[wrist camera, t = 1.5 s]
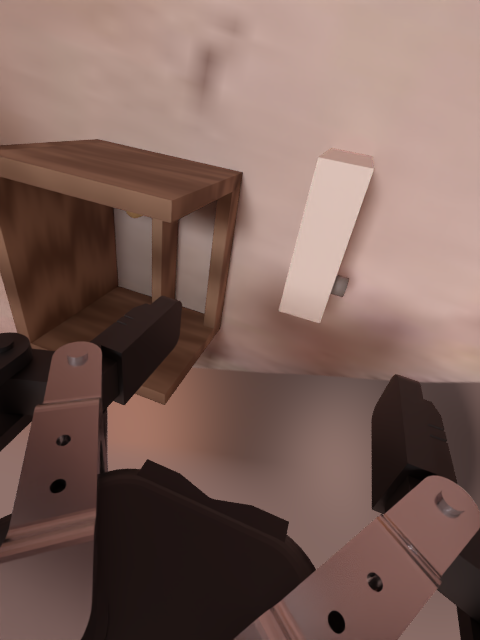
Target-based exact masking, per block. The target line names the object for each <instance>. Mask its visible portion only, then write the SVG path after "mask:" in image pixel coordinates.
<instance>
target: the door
mask: <svg viewBox="0 0 480 640" xmlns="http://www.w3.org/2000/svg"><path fill="white" fill-rule="evenodd" d="M373 171H374V164H373V157H372V156H369V155H364V154H359V153H354V152H349V151H344V150H339V149H334V148H331V149H329V150H328V151H326V152H325V153H323V154H322V155H321V156H319V157H318V160H317V163H316V167H315V171H314V175H313V179H312V183H311V187H310V191H309V194H308V198H307V202H306V206H305V210H304V214H303V218H302V221H301V225H300V229H299V233H298V237H297V241H296V245H295V249H294V252H293V256H292V260H291V264H290V268H289V272H288V276H287V279H286V283H285V287H284V291H283V295H282V299H281V303H280V307H279V310H278V311H280V312H283V313H287V314H290V315H293V316H296V317H300V318H303V319H306V320H310V321H313V322H316V323H319V324H320V321H321V319H322V316H323V313H324V310H325V307H326V304H327V302H328V299H329V296H330V294H333V295H337V296H340V297H343V295H344V293H345V291H346V288H347V284H348V281H349V278H346V277H342V276H339V275H337V273H338V270H339V267H340V265H341V262H342V259H343V256H344V253H345V250H346V247H347V245H348V242H349V239H350V236H351V233H352V230H353V228H354V225H355V222H356V219H357V216H358V213H359V210H360V208H361V205H362V202H363V199H364V196H365V193H366V191H367V188H368V185H369V182H370V179H371V176H372V173H373Z"/></svg>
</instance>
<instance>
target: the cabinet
mask: <svg viewBox="0 0 480 640" xmlns="http://www.w3.org/2000/svg"><path fill="white" fill-rule="evenodd" d="M242 173H243V172H238V171H234V170H230V169H225V168H221V167H216V166H212V165H208V164H203V163H199V162H195V161H190V160H186V159H181V158H177V157H173V156H168V155H164V154H160V153H155V152H151V151H146V150H142V149H138V148H133V147H129V146H125V145H120V144H116V143H111V142H107V141H103V140H98V139H95V140H79V141H63V142H47V143H31V144H15V145H0V272H1V276H2V280H3V283H4V287H5V290H6V294H7V297H8V301H9V304H10V308H11V311H12V315H13V319H14V322H15V326H16V329H17V333H19V334H22V335H25V336H26V337H27V338H28V339H29V341H30V345H31V348H32V349H41V350H50V351H56V350H57V349H59V348H60V347H62V346H64V345H66V344H69V343H73V342H82V341H83V342H90V341H91V340H93V339H94V338H95V337H97V336H98V335H99V334H100V333H102V332H103V331H104V330H106V329H107V328H108V327H109V326H111V325H112V324H113V323H115V322H117V320H118V319H120V318H121V317H122V316H123V317H124V315H125V314H126V313H127V312H129V311H130V310H131V309H133V308H134V307H137V306H140V305H143V304H149V305H150V304H152V303H153V302H154V301H155V300H157V299H158V298H159V297H160V296H166V297H169V298H172V299H175V281H176V260H177V239H178V219H180V218H182V217H184V216H186V215H188V214H190V213H192V212H194V211H196V210H197V209H199V208H201V207H203V206H205V205H207V204H209V203H211V202H213V201H215V200H217V206H216V215H215V224H214V233H213V242H212V252H211V261H210V270H209V279H208V288H207V297H206V306H205V314H203V313H200V312H197V311H194V310H190V309H187V308H184V307H182V313H181V326H180V336H179V340H178V342H177V344H176V346H175V348H174V349H173V350H172V351H171V352H170V354H169V355H168V356H167V357H166V358H165V359H164V361H163V362H162V363H161V364H160V365H159V366H158V367H157V369H156V370H155V371H154V372H153V373H152V374H151V375H150V377H149V378H148V379H147V380H146V381H145V382H144V383H143V385H142V386H141V387H140V388H139V389H138V390H137V391H136V393H135V394H137V395H140V396H143V397H145V398H148V399H150V400H153V401H155V402H158V403H161V404H163V405H165V404H166V403H167V401H168V400H169V398H170V397H171V395H172V394H173V393H174V391H175V390H176V389H177V387H178V386H179V384H180V383H181V382H182V380H183V379H184V378H185V376H186V375H187V373H188V372H189V370H190V369H191V368H192V366H193V365H194V364H195V362H196V361H197V359H198V358H199V357H200V355H201V354H202V353H203V351H204V350H205V348H206V347H207V346H208V344H209V343H210V341H211V340H212V339H213V337H214V336H215V334H216V333H217V332H218V330H219V329H220V324H221V317H222V310H223V303H224V297H225V290H226V283H227V276H228V269H229V262H230V255H231V248H232V241H233V235H234V228H235V221H236V214H237V207H238V200H239V193H240V186H241V179H242ZM113 207H114V208H118V209H121V210H125V211H126V213H127V214H128V215H129V216H130V217H132V218H138V217H141V216H147V217H151V218H152V297H150V296H147V295H144V294H141V293H138V292H135V291H131V290H128V289H125V288H122V287H119V286H118V277H117V261H116V245H115V229H114V213H113Z"/></svg>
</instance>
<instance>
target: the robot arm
mask: <svg viewBox="0 0 480 640" xmlns="http://www.w3.org/2000/svg"><path fill="white" fill-rule="evenodd" d="M181 313H182V303H181V302H180V301H178V300H175V299H172V298H169V297H166V296H160V297H159V298H158V299H157V300H155V301H154V302H153V303H152V304H150V305H149V304H143V305H140V306H137V307H134V308H133V309H131V310H130V311H129V312H127V313H126V314H125V315H124V317H123V316H122V317H121V318H120V319H118V320H117V322H115V323H113V324H112V325H111V326H109V327H108V328H107V329H106V330H104V331H103V332H102V333H100V334H99V335H98V336H97V337H95V338H94V339H93V340H91V341H90V342H83V341H82V342H73V343H69V344H66V345H64V346H62V347H60V348H59V349H57V350H56V351H50V350H41V349H32V348H31V345H30V341H29V339H28V338H27V337H26V336H25V335H22V334H19V333H1V334H0V451H1V450H2V449H3V448H4V447H5V446H6V445H8V444H9V443H10V442H11V441H12V440H13V439H14V438H15V437H16V436H17V435H18V434H19V433H20V432H21V431H22V430H23V429H24V428H25V427H26V426H27V425H28V424H29V423H30V422H31V421H32V423H31V428H30V433H29V437H28V442H27V447H26V451H25V456H24V461H23V465H22V470H21V475H20V479H19V484H18V489H17V493H16V498H15V502H14V507H13V511H12V514H10V515H7V516H5V517H3V518H1V519H0V640H398V638H399V637H400V636H401V635H402V633H403V632H404V631H405V630H406V628H407V627H408V626H409V625H410V623H411V622H412V621H413V619H414V618H415V617H416V616H417V614H418V613H419V612H420V610H421V609H422V608H423V607H424V605H425V604H426V603H427V602H428V600H429V599H430V598H431V596H432V595H433V594H434V593H435V591H436V590H438V591H439V592H440V593H442V594H443V595H444V596H445V597H447V598H448V599H449V600H450V601H452V602H453V603H454V604H456V605H457V613H458V621H459V628H460V636H461V640H480V512H479V509H478V507H477V505H476V504H475V502H474V501H473V499H472V498H471V497H470V496H469V494H468V493H467V492H466V491H465V490H464V489H462V488H461V487H460V486H459V485H458V484H457V480H456V476H455V472H454V468H453V464H452V459H451V455H450V451H449V447H448V443H446V441H447V439H446V435H445V432H444V426H443V422H442V418H441V415H440V414H439V412H438V411H437V409H436V408H435V406H434V405H433V403H432V402H430V401H427V400H424V399H423V395H422V390H421V385H420V383H419V382H418V381H415V380H412V379H409V378H406V377H403V376H400V375H397V374H395V375H394V376H393V377H392V378H391V380H390V382H389V384H388V385H387V387H386V389H385V390H384V392H383V394H382V395H381V397H380V399H379V401H378V402H377V404H376V406H375V409H374V411H373V415H372V509H373V510H375V511H377V512H380V513H382V514H384V515H382V514H381V515H379V516H378V517H377V518H375V519H374V520H373V521H372V522H371V523H370V524H368V525H367V526H366V527H365V528H364V529H363V530H362V531H360V532H359V533H358V534H357V535H356V536H355V537H354V538H353V539H351V540H350V541H349V542H348V543H347V544H346V545H344V546H343V547H342V548H341V549H340V550H339V551H337V552H336V553H335V554H334V555H333V556H332V557H331V558H330V559H328V560H327V561H326V562H325V563H324V564H323V565H322V566H320V567H319V568H318V569H317V570H316V569H315V567H314V565H313V564H312V562H311V561H310V559H309V558H308V556H307V555H306V554H305V553H304V551H303V550H302V549H301V548H300V547H299V546H298V545H297V544H296V543H295V542H294V541H293V540H292V539H291V538H290V537H289V536H288V535H286V534H287V529H288V524H289V522H288V521H286V520H284V519H281V518H279V517H277V516H274V515H272V514H270V513H268V512H265V511H263V510H261V509H259V508H256V507H254V506H252V505H246V504H239V503H233V502H227V501H221V500H214V499H211V498H209V497H208V496H207V495H205V494H204V493H203V492H202V491H201V490H199V489H198V488H197V487H196V486H194V485H193V484H192V483H191V482H189V481H188V480H187V479H186V478H185V477H183V476H182V475H181V474H180V473H177V472H175V471H173V470H171V469H168V468H166V467H164V466H162V465H159V464H157V463H155V462H153V461H150V460H146V462H145V463H144V465H143V466H142V468H141V469H119V470H113V471H108V461H107V407H108V406H109V405H110V404H111V403H112V402H113V401H115V402H117V403H120V404H122V405H125V404H126V403H127V402H128V401H129V399H130V398H131V397H132V396H133V395H134V394H135V393H136V391H137V390H138V389H139V388H140V387H141V386H142V385H143V383H144V382H145V381H146V380H147V379H148V378H149V377H150V375H151V374H152V373H153V372H154V371H155V370H156V369H157V367H158V366H159V365H160V364H161V363H162V362H163V361H164V359H165V358H166V357H167V356H168V355H169V354H170V352H171V351H172V350H173V349H174V348H175V346H176V344H177V342H178V340H179V336H180V326H181Z"/></svg>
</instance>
